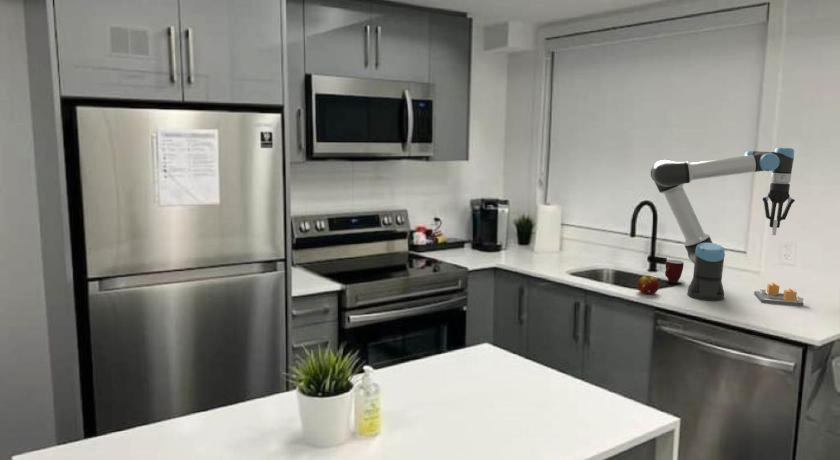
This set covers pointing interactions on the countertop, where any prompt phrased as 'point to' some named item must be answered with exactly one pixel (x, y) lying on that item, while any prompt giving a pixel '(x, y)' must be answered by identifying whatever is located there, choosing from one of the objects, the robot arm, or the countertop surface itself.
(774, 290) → the tab back
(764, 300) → the switch board
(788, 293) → the tab front
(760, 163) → the robot arm
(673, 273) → the mug
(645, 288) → the fruit
